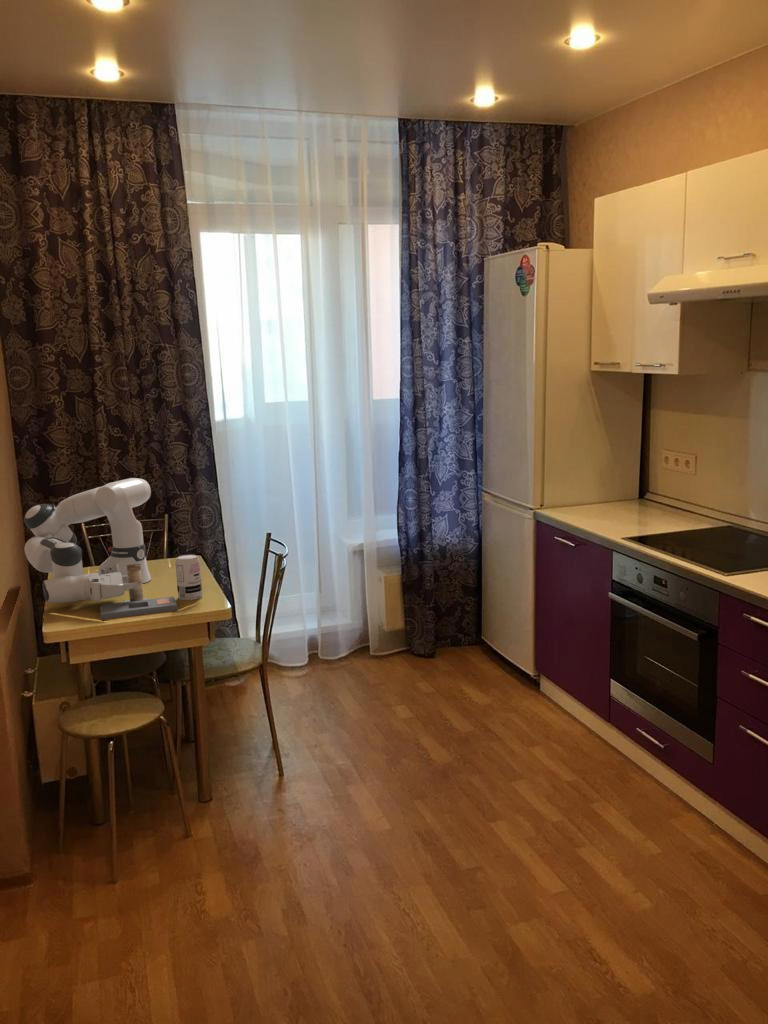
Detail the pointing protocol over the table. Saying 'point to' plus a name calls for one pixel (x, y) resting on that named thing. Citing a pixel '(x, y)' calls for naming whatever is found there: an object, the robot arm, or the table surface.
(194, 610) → the table surface
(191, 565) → the supplement can
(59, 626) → the table surface
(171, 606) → the socket board
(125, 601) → the pad
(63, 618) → the table surface
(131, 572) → the maple peg
